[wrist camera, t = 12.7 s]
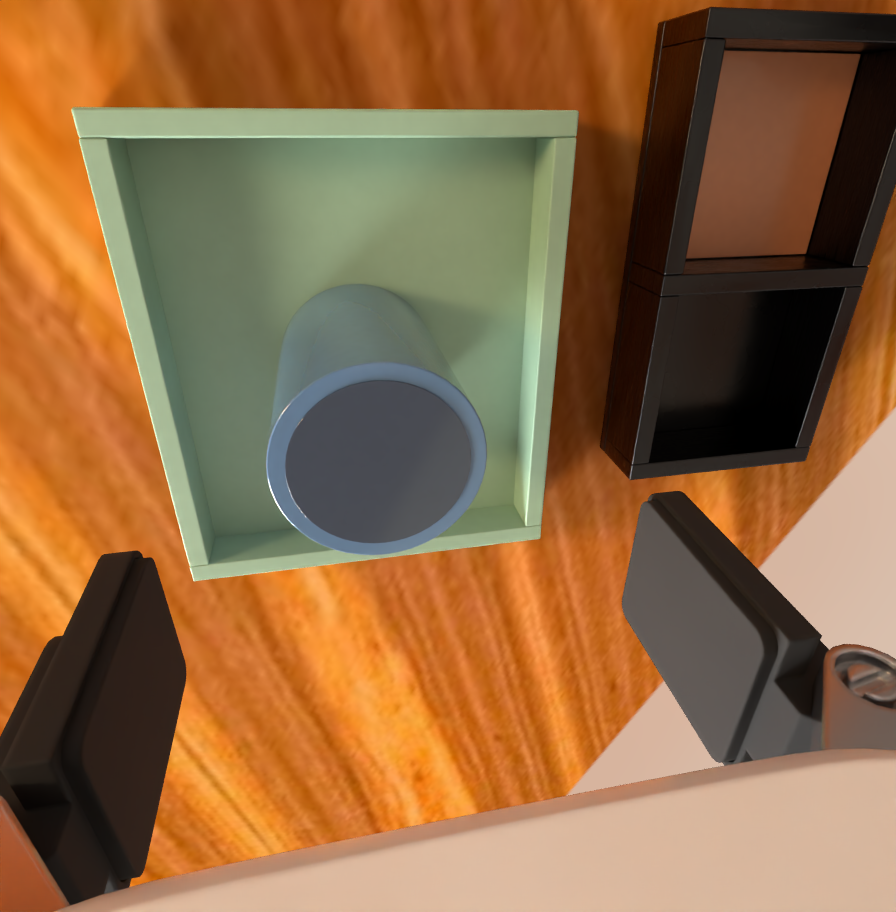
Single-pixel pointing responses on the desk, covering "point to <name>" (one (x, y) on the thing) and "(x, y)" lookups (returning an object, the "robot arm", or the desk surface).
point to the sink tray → (325, 266)
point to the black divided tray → (748, 234)
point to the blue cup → (370, 426)
